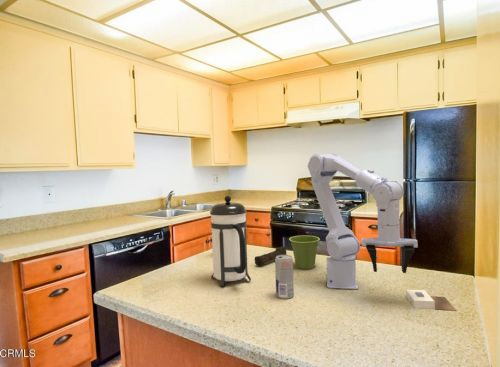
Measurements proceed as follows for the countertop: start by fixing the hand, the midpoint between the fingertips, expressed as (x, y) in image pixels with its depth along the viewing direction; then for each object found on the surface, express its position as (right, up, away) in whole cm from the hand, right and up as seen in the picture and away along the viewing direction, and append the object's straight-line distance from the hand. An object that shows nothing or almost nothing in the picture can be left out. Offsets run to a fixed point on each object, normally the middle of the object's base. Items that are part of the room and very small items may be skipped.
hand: (389, 271), depth 93 cm
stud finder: (+8, -9, -1) cm, 12 cm away
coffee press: (-46, -9, +21) cm, 51 cm away
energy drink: (-29, -9, +6) cm, 31 cm away
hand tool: (-34, -11, +40) cm, 53 cm away
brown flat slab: (+13, -8, -3) cm, 15 cm away
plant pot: (-18, -8, +35) cm, 40 cm away
